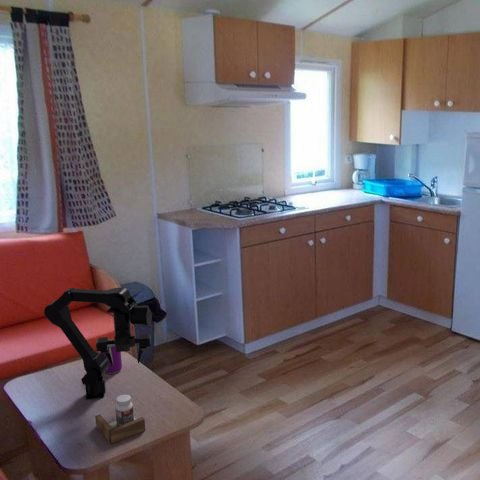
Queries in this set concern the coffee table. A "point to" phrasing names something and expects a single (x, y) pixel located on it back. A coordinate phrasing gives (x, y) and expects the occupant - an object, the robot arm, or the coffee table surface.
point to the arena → (119, 428)
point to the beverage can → (114, 361)
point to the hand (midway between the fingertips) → (125, 363)
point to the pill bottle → (124, 410)
